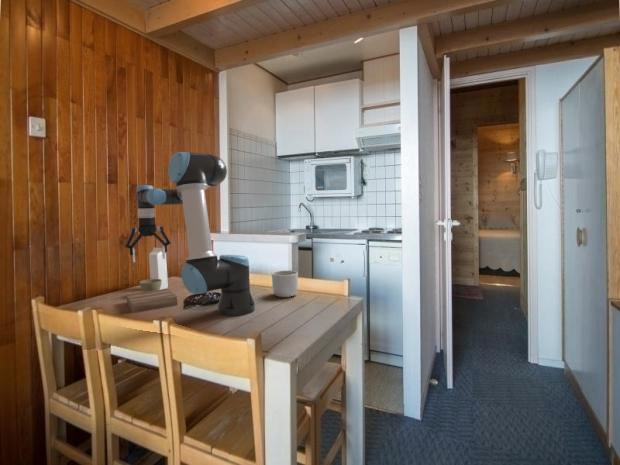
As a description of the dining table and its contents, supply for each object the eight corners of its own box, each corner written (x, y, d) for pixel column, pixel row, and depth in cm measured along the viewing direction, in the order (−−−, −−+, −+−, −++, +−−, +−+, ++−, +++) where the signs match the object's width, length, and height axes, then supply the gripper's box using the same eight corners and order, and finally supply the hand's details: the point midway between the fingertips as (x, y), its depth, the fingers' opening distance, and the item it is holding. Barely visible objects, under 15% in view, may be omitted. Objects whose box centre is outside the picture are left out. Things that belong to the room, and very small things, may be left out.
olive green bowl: (166, 292, 179) (165, 278, 179) (155, 297, 169) (154, 283, 169) (147, 292, 180) (146, 278, 180) (136, 297, 170) (135, 283, 170)
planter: (282, 300, 159) (282, 276, 158) (267, 295, 169) (266, 273, 168) (303, 295, 167) (303, 272, 166) (287, 290, 177) (287, 269, 176)
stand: (177, 305, 156) (176, 296, 155) (132, 312, 146) (131, 303, 145) (168, 296, 171) (167, 288, 170) (126, 303, 161) (126, 294, 160)
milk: (159, 287, 192) (157, 246, 190) (168, 287, 189) (165, 247, 188) (150, 289, 186) (148, 248, 185) (159, 290, 184) (156, 248, 182)
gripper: (171, 216, 182) (173, 256, 183) (117, 218, 168) (119, 262, 170) (175, 216, 175) (177, 258, 177) (118, 218, 162) (121, 264, 163)
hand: (149, 260), depth 173 cm, fingers open, 13 cm apart
